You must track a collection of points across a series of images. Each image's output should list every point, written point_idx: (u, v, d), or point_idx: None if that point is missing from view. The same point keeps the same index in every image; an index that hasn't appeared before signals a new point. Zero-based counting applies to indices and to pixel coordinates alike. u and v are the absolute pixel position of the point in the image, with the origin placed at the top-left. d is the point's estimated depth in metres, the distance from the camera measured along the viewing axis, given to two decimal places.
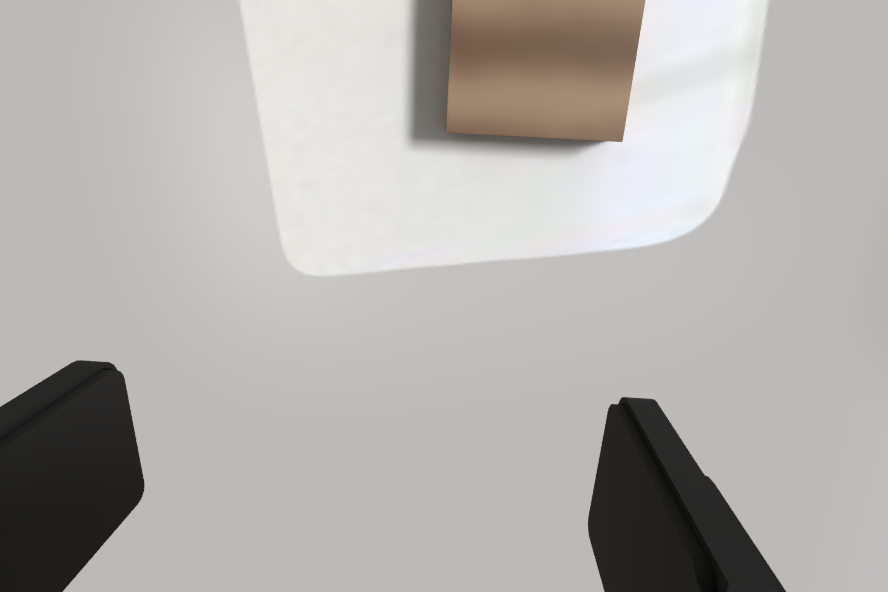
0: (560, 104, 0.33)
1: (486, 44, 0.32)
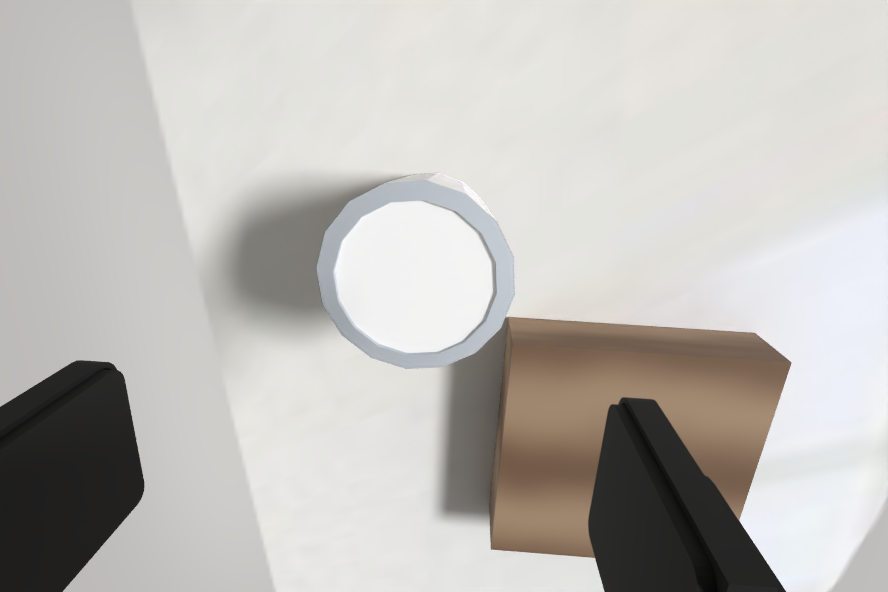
0: None
1: (549, 467, 0.24)
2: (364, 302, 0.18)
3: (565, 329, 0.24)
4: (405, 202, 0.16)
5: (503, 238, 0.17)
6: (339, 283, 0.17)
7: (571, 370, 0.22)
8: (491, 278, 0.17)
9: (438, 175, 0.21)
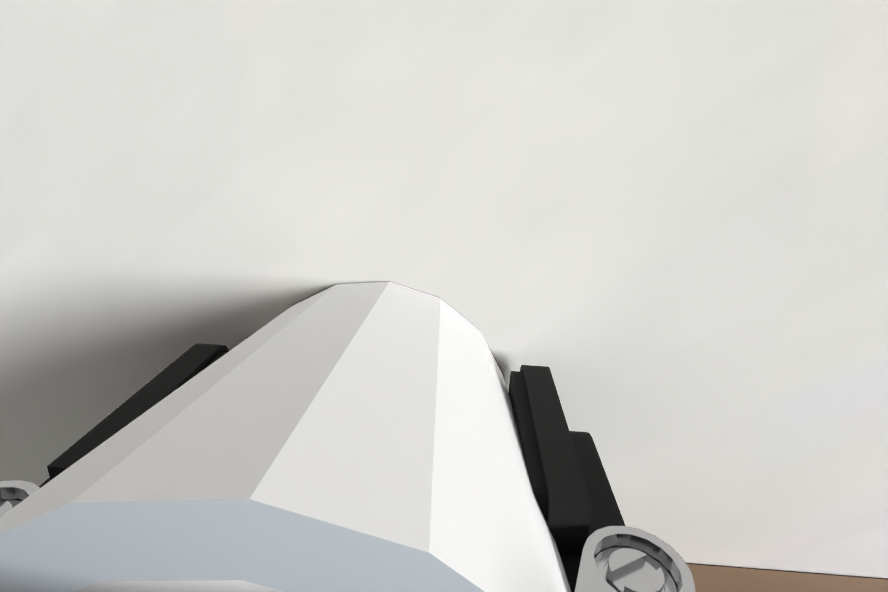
0: None
1: None
2: None
3: None
4: (171, 574, 0.04)
5: None
6: None
7: None
8: None
9: (379, 312, 0.08)
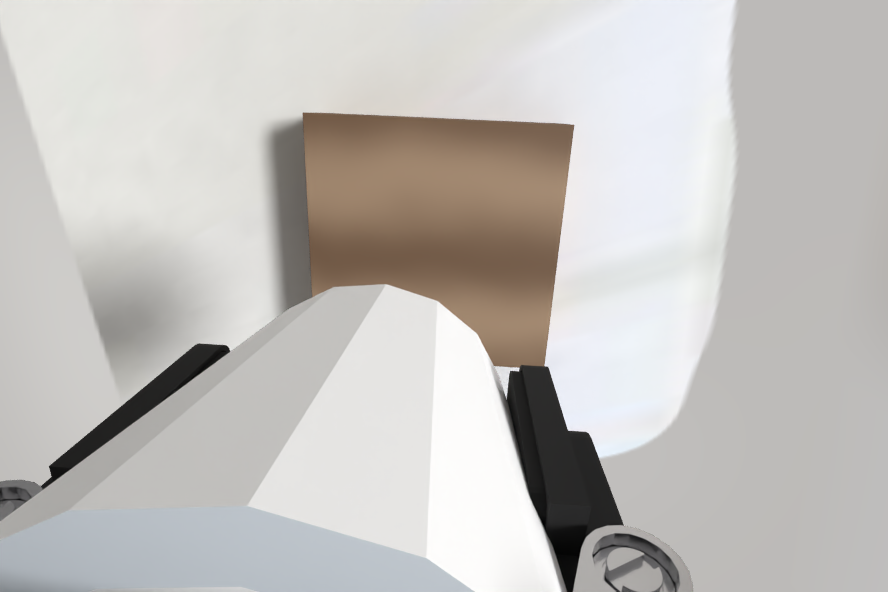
0: None
1: (358, 256, 0.24)
2: None
3: None
4: (169, 581, 0.04)
5: None
6: None
7: (363, 141, 0.23)
8: None
9: (376, 315, 0.08)
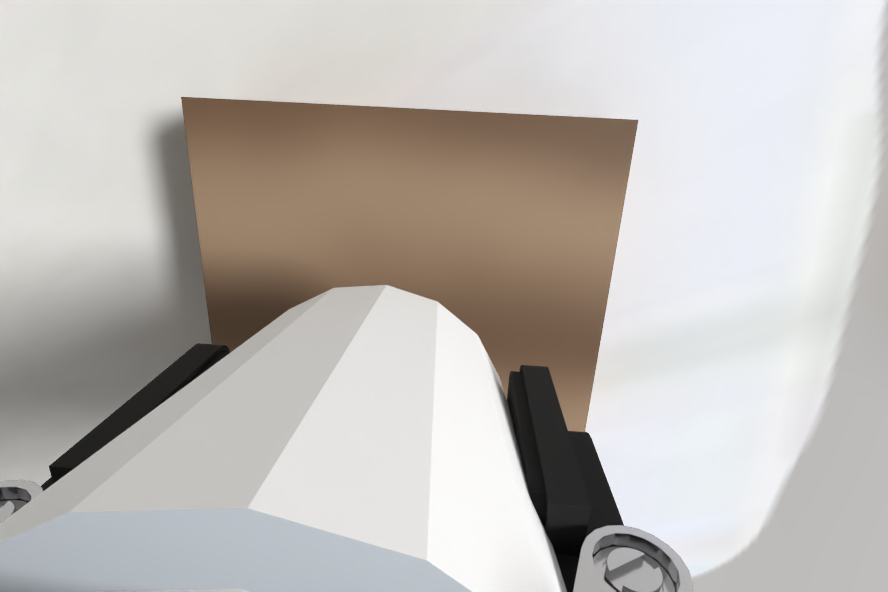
0: None
1: None
2: None
3: None
4: (169, 583, 0.04)
5: None
6: None
7: (285, 146, 0.14)
8: None
9: (376, 316, 0.08)
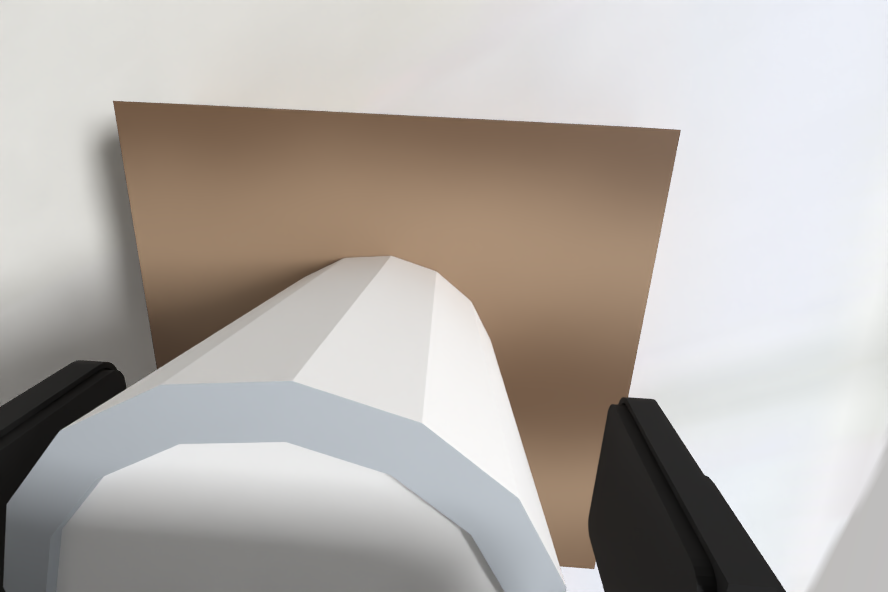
0: None
1: None
2: None
3: None
4: (231, 441, 0.05)
5: (537, 541, 0.05)
6: None
7: (243, 161, 0.11)
8: None
9: (382, 277, 0.10)
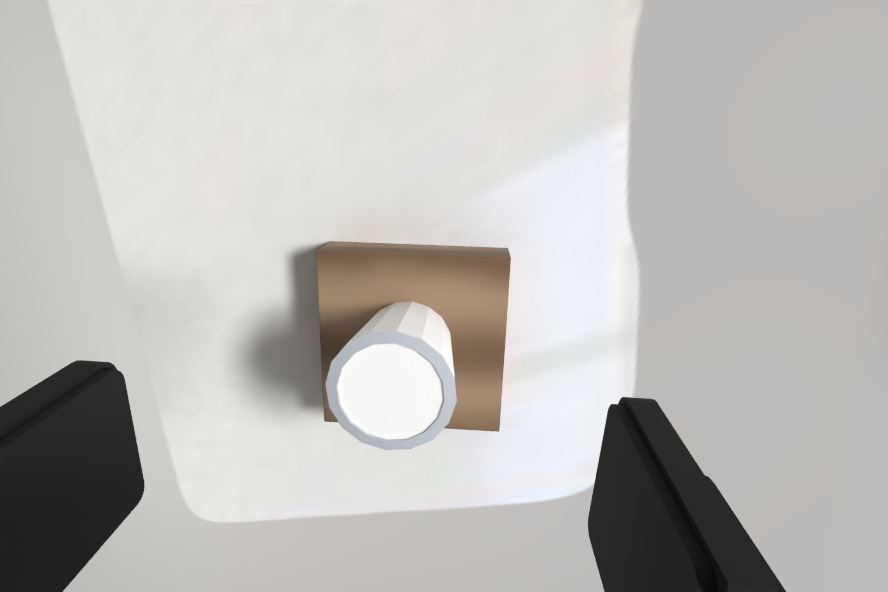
0: None
1: None
2: (357, 406, 0.26)
3: (365, 245, 0.33)
4: (383, 344, 0.25)
5: (447, 366, 0.25)
6: (340, 394, 0.26)
7: (360, 269, 0.31)
8: (440, 391, 0.26)
9: (410, 309, 0.30)
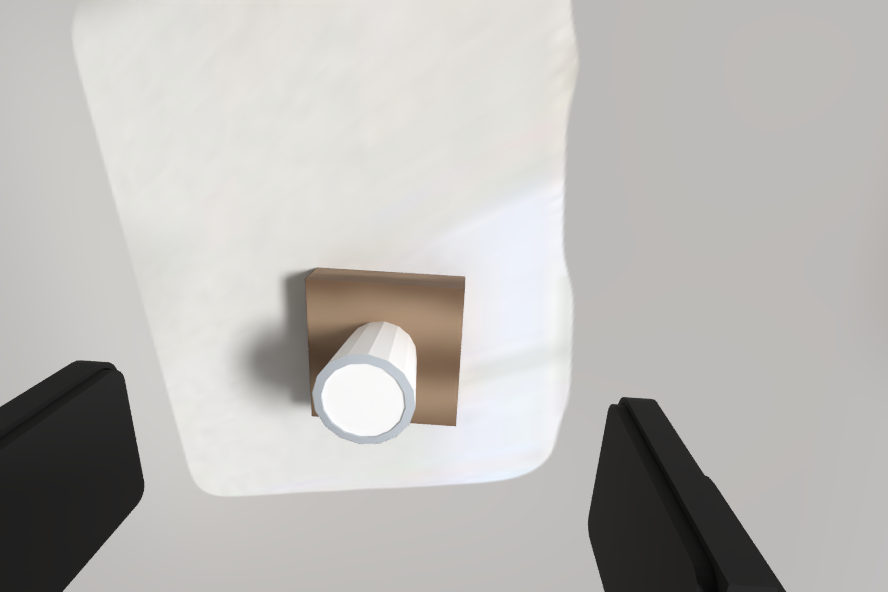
0: None
1: None
2: (337, 410, 0.33)
3: (346, 273, 0.39)
4: (357, 364, 0.32)
5: (408, 381, 0.32)
6: (324, 401, 0.33)
7: (341, 295, 0.38)
8: (402, 400, 0.33)
9: (382, 330, 0.37)
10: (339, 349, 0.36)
